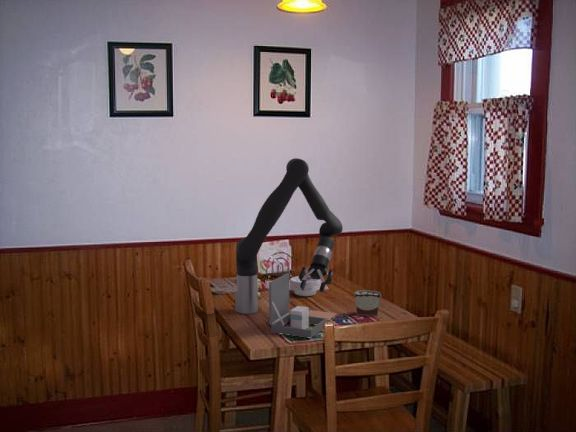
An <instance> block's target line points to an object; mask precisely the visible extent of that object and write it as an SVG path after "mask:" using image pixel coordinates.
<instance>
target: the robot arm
mask: <svg viewBox="0 0 576 432" xmlns="http://www.w3.org/2000/svg"><path fill="white" fill-rule="evenodd" d="M285 170H286V171H285V172H286V173H285V175H283V178H282V180H281V182H280V183H279V185H278V186H276V188H275V189H274V190H273V191H272V193H270V195H268V197H267V198H266V199H265V201H264V203H263V204H262V206H261V207H260V209H259V211H258V213H257V216H256V218H255V221H254V224H253V225H252V228H251V230H250V231H249V233H248V234H247V235H246V237H244V238H240V240H239V241H237V244H236V247H235V248H236V249H235V255H236V257H235V258H236V259H235V260H236V262H235V264H236V265H235V266H236V290H235V291H234V293H235V294H234V295H235V297H234V298H235V299H234V300H235V301H234V302H235V307H234V309H235V312H237V313H239V314H243V315H244V314H245V315H248V314H249V315H251V314H255V313H257V312H258V309H259V305H258V303H259V302H258V301H259V299H258V292H259V288H258V280H257V279H258V263H257V261H258V259H257V257H258V256H257V255H258V254H259V252H260V249H261V247H262V246H263V243H264V241H265V239H266V237H267V236H268V235H269V234H270V232H271V230H272V229H273V228H274V226H275V225H276V223H277V222H278V221H279V219H280V218H281V216H282V214H283V213H284V212H285V210H286V208H287V206H288V204H289V203H290V201H291V198H292V197H293V195H294V193H295V192H296V191H297V190H298V188H299V190H300V191H301V193H302V195H303V196H304V198H305V201H306V202H307V204H308V206H309V208H310V209H311V211H312V213H313V214H314V217H315V218H316V220H318V221H324V222H323V223H322V224H321V225H320V227H319V230H318V231H319V234H318V237H319V238H318V244H317V246H316V249H315V250H314V253H313V256H312V259H311V262H310V266H309V267H308V268H306V267H305V266H303V267H302V269H301V270H300V273H299V274H298V276H299V279H300V281H302V282H301V285H300V287H301V289H302V290H304V288H305V285H306V282H307V281H308V280H311V279H317V280H319V279H320V280H321V283H320V284H321V285H320V289H319V290H318V291H319V292H320V293H323V292H324V291H325V288H326V285H331V283H332V279H333V275H334V272H333V270H332V269H329V270H328V268H329V264H330V261H331V259H332V253H333V250H334V247H335V241H334V239H333V238H332V237H335V236H339V235H341V234H342V232H343V228H344V227H343V224H342V222H341V220H340V219H339V218H338V217H337V216H336V215H335V214H334V212H333V211H331V210H330V208H329V207H328V205H327V203H326V201H325V200H324V198H323V197H322V195H321V193H320V192H319V191H318V189H317V188H316V186H315V185H314V183H313V181H312V179H311V178H310V175H309V171H310V169H309V164H308V163H307V162H306V161H305V160H303V159H301V158H295V157H294V158H292V159H290V160H288V162H287V163H286V169H285ZM326 275H327V277H326V279H325V276H326ZM309 276H310V277H309Z"/></svg>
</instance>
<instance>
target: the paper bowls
mask: <svg viewBox="0 0 576 432" xmlns="http://www.w3.org/2000/svg"><path fill="white" fill-rule="evenodd" d="M309 277H310V275H309ZM301 282H302V281H300V279H299V275H296V276H292V277H291V278H289V290H291V291H293V292H294V294H295V295H296V296H299V297H311V296H315V295H316V293H317V291H319V289H320V286H321V283H322V280H321V279H319V280H317V279H311V280H308V281H307V282H306V285H305V288H304V290H302V289H301V287H300V285H301Z"/></svg>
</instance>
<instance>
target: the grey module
mask: <svg viewBox="0 0 576 432" xmlns="http://www.w3.org/2000/svg"><path fill="white" fill-rule="evenodd" d="M309 311H310V310H309V306H301V305H296V306H295V307H293V308H292V309H291V310H290V313H291V314H290V319H291V322H290V327H294V328H301V329H306V328H307V327H309ZM309 328H310V327H309Z"/></svg>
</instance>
